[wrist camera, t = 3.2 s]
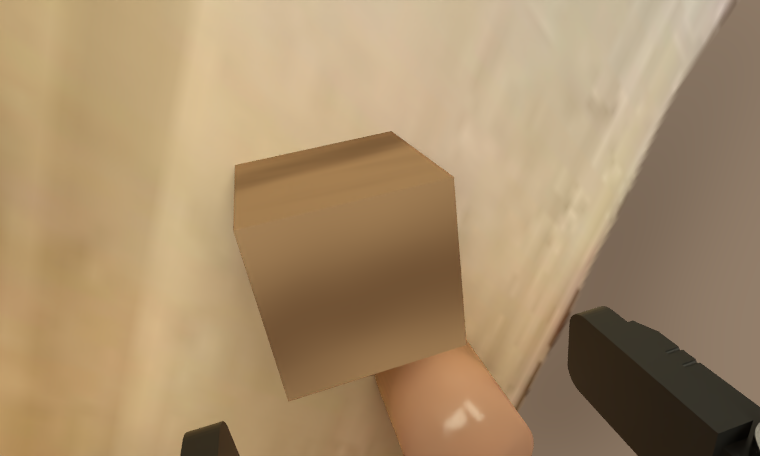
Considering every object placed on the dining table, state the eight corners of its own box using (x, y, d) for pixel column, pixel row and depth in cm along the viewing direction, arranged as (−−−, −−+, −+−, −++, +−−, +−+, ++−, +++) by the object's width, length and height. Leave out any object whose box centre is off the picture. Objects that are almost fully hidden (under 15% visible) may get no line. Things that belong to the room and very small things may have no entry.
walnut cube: (235, 164, 17) (233, 230, 12) (390, 130, 18) (453, 177, 13) (275, 298, 19) (288, 401, 14) (408, 261, 21) (466, 345, 15)
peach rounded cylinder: (367, 339, 22) (408, 442, 16) (465, 310, 22) (534, 398, 17) (382, 414, 24) (423, 526, 19) (470, 384, 25) (533, 483, 19)
